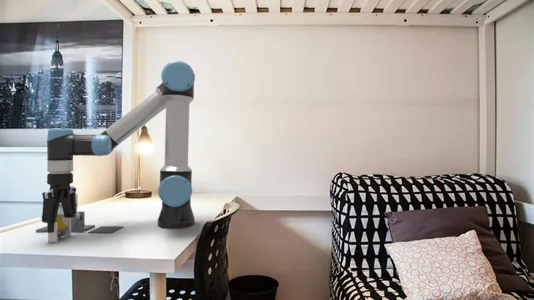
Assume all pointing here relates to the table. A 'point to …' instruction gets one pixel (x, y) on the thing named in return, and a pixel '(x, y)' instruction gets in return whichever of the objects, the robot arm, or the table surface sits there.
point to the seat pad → (106, 229)
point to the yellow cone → (60, 227)
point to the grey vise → (74, 224)
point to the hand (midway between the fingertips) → (60, 238)
